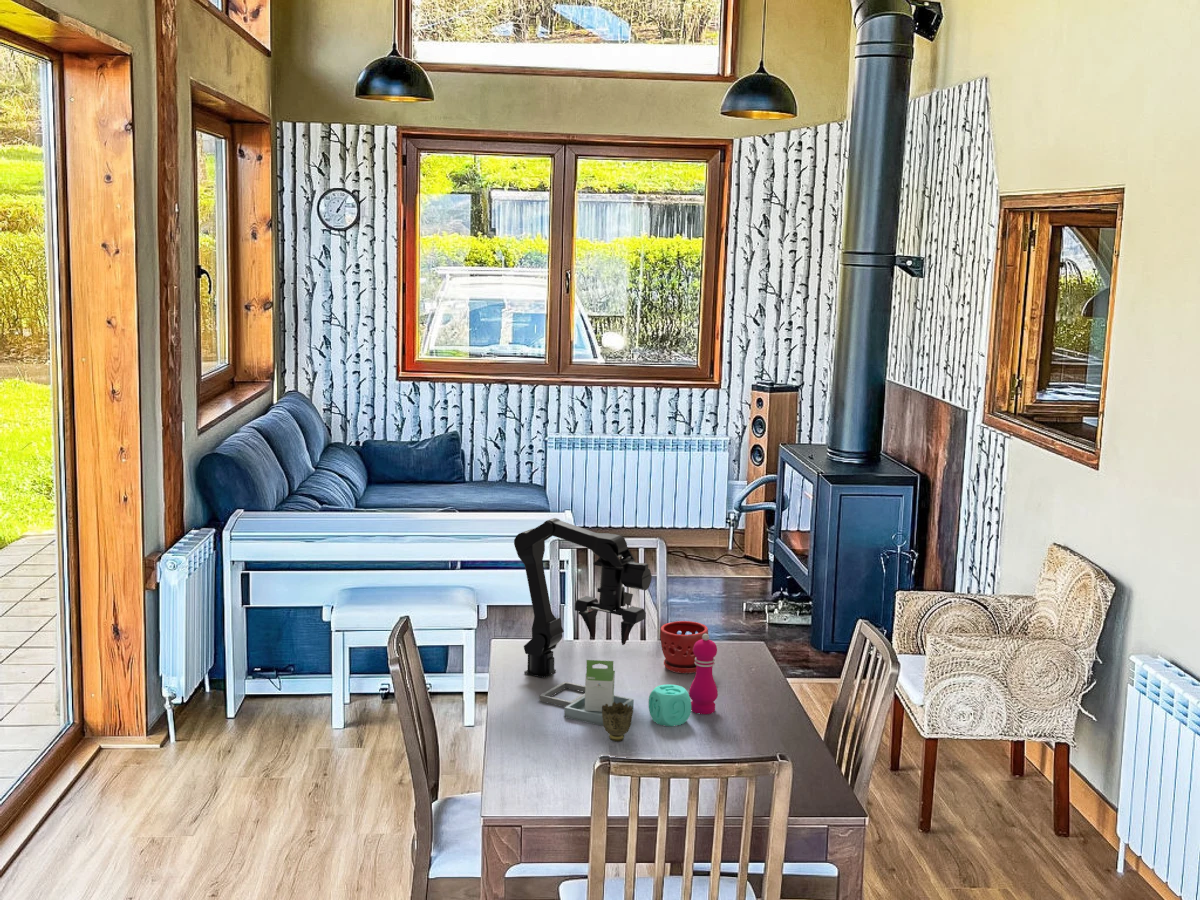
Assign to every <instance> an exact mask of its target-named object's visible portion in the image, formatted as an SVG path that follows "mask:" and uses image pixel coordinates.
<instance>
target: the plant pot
mask: <svg viewBox="0 0 1200 900" xmlns="http://www.w3.org/2000/svg"><path fill="white" fill-rule="evenodd" d="M678 632H680V633H681V634H680V633H679V634H678ZM687 632H689V633H691V634H687ZM696 632H697V633H696ZM703 634H708V635H709V628H708V627H707V626H706V625H705V624H703V623H701V622H696V621H689V620H688V621H687V620H680V621H671V622H668V623H665V624H663V625H662V626H660V633H659V635H660V646H661V651H662V654H663V656H664V660H663V665H664V667H665V668H666V669H667V670H669V671H670V672H673V673H678V674H686V673H687V674H686V675H688V674H693V673H696V664H695V658H696V656H695V655H694V653H693V647H694V644H695V643H696V642H697V641H698V640H701V639H702V636H703Z"/></svg>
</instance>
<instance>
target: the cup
mask: <svg viewBox="0 0 1200 900" xmlns="http://www.w3.org/2000/svg"><path fill="white" fill-rule="evenodd" d="M612 704H613V705H612V706H609V707H608V704H605V706H604V705H602V718H603V725H604V726H603V729H604V730H605V732H606V733H607V734H608V738H609V740H610V742H611V741H612V742H617V743H618V742H619V743H620V742H622V741H624V739H625V735H626V734H627V733H629V731H630V728H631V725H632V719H633V713H634V707H633V708H632V707H631V705H630V706H629V707H628V705H627V704H625V706H624V705H623V703H622V702H619V703H617V704H616V703H615V702H613V703H612Z"/></svg>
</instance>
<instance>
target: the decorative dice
mask: <svg viewBox="0 0 1200 900" xmlns="http://www.w3.org/2000/svg"><path fill="white" fill-rule="evenodd" d="M691 702H692V699H691V698H690V696H689V691H687V689H686V688H685V687H684V686H682V685H677V684H670V683H669V684H661V685H657V686H656V687H654V688H653V689H652V691H651V692H650V693H649V696H648V711H649V714H650V718H651V719H652V721H653V722H654V723H655V722H656V723H655V724H657V725H659V724H660V726H663V725H665V726H664V727H677V726H676V725H679V726H681V724H682V725H684V724H685V723H687V721H688V719H689V718H690V717H691V713H692V711H691ZM674 725H675V726H674Z"/></svg>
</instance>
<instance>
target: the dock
mask: <svg viewBox="0 0 1200 900" xmlns="http://www.w3.org/2000/svg"><path fill="white" fill-rule="evenodd" d="M564 688H565V689H567V688H570V689H569V690H571V689H574V690H573V691H575V690H579V691H578V692H580V691H583V692H582V694H581V695H580V696H577V697H576V698H574V699H572V700H567V699H562V698H557V697H553V696H555V695H556V694H555V693H557V692H558V693H560V692H562V691H564V690H565V689H564ZM563 689H564V690H563ZM561 690H562V691H561ZM559 691H560V692H559ZM584 692H585V685H582V684H578V683H573V682H568V681H563V682H562V683H560V684H558V685H556V686H554V687H552V688H550V689H548V690H547V691H545V692H543V693H541V694H540V695H539V702H541V701H542V703H545V702H548V703H547V704H550V703H552V704H551V705H554V704H556V705H555V706H558V705H560V706H559V707H563V706H565V707H566V706H568V705H569V704H571V703H573V702H575V701H576V700H578V699H580V698H581V697H583V696H585V693H584ZM558 693H557V694H558ZM554 694H555V695H554ZM552 695H553V696H552ZM550 696H551V697H550Z"/></svg>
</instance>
